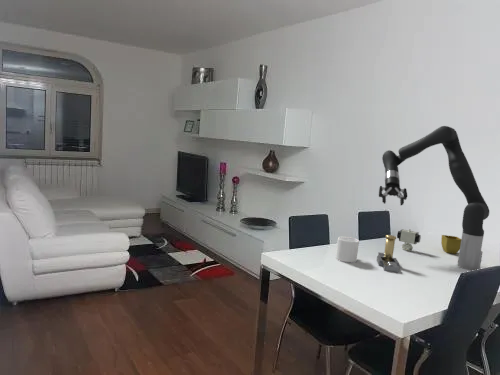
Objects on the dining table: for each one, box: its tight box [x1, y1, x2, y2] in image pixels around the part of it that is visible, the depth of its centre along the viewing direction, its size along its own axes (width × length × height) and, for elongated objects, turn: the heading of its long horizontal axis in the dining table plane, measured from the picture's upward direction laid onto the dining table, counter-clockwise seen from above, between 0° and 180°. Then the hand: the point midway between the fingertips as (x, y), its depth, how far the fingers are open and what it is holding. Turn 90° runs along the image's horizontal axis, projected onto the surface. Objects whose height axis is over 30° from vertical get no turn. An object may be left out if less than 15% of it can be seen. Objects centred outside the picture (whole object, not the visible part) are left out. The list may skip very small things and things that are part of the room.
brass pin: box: [383, 234, 397, 262], centre depth 189 cm, size 5×5×14 cm
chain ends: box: [376, 252, 400, 273], centre depth 189 cm, size 9×23×3 cm, turn 169°
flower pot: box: [441, 234, 462, 255], centre depth 224 cm, size 9×9×9 cm
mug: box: [335, 236, 360, 264], centre depth 191 cm, size 13×10×10 cm
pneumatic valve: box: [396, 229, 422, 252], centre depth 221 cm, size 6×12×12 cm, turn 54°
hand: (393, 203), depth 205 cm, fingers open, 8 cm apart
